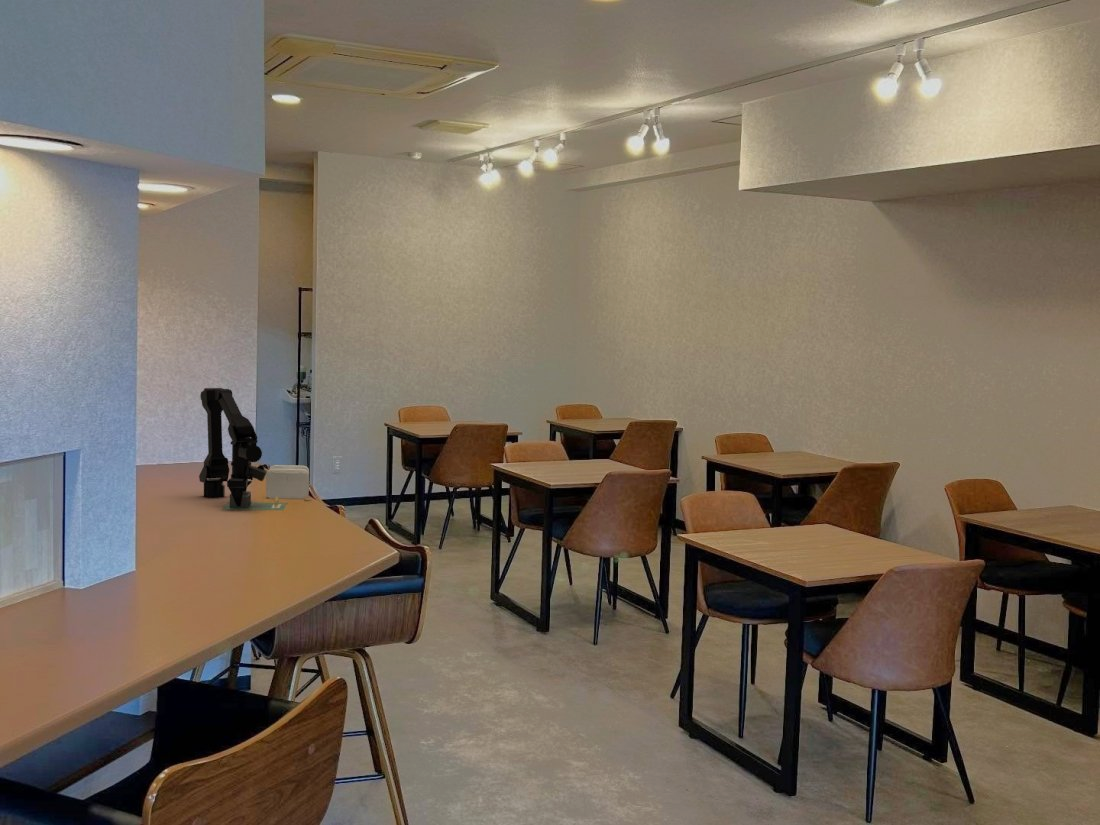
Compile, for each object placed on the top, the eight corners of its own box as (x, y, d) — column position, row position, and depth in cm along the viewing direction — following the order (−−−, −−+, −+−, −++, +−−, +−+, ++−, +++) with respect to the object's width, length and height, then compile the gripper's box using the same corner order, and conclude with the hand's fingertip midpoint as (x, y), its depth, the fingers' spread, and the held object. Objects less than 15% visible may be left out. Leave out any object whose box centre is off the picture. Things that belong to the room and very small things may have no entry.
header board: (221, 511, 342) (221, 500, 341) (228, 504, 356) (228, 493, 355) (283, 512, 345) (283, 501, 345) (287, 505, 359) (287, 494, 358)
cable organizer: (311, 496, 378) (311, 465, 378) (307, 501, 368) (308, 469, 367) (269, 496, 377) (270, 464, 376) (265, 500, 366) (265, 468, 365)
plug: (229, 507, 345) (229, 494, 345) (232, 504, 352) (232, 491, 352) (247, 508, 346) (248, 494, 346) (250, 504, 353) (250, 491, 353)
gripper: (261, 462, 340) (261, 509, 341) (268, 455, 359) (267, 499, 360) (227, 462, 338) (226, 508, 340) (235, 455, 357) (235, 499, 358)
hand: (240, 504), depth 349 cm, fingers closed on plug, 7 cm apart
